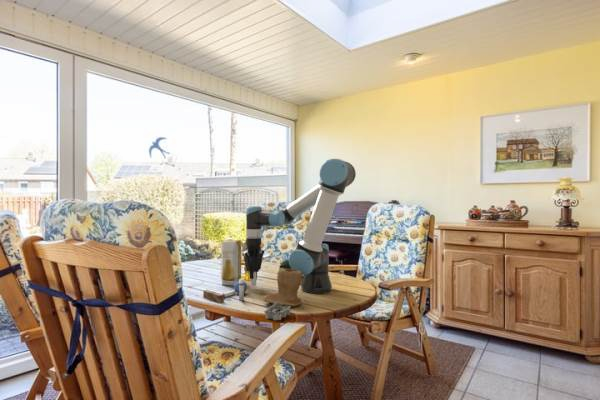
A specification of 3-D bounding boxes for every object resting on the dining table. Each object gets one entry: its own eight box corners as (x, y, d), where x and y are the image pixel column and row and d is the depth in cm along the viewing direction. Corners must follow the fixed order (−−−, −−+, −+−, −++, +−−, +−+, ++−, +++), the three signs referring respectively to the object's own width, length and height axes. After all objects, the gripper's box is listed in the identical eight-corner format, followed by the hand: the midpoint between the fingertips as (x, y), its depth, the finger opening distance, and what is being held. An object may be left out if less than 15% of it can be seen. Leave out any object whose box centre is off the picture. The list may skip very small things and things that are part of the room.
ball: (242, 291, 151) (242, 298, 155) (249, 281, 155) (249, 288, 159) (231, 285, 152) (231, 292, 156) (238, 276, 157) (238, 283, 161)
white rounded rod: (244, 300, 145) (244, 279, 145) (241, 301, 144) (241, 280, 144) (241, 299, 147) (241, 278, 147) (237, 300, 145) (238, 279, 145)
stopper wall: (223, 301, 143) (223, 294, 143) (219, 302, 141) (219, 295, 141) (207, 296, 151) (207, 289, 151) (203, 297, 149) (203, 290, 149)
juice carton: (219, 285, 171) (219, 238, 171) (226, 281, 178) (226, 236, 178) (236, 286, 169) (236, 239, 169) (242, 282, 176) (243, 237, 176)
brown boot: (306, 302, 144) (306, 267, 144) (295, 310, 133) (295, 272, 133) (275, 297, 150) (275, 264, 150) (262, 305, 139) (262, 269, 139)
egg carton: (277, 310, 133) (277, 300, 133) (293, 314, 130) (293, 303, 130) (261, 318, 124) (261, 307, 124) (277, 322, 120) (278, 310, 120)
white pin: (235, 290, 154) (221, 294, 146) (235, 294, 154) (221, 299, 146) (232, 289, 155) (218, 293, 147) (232, 294, 155) (217, 298, 147)
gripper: (258, 235, 171) (257, 281, 171) (238, 237, 161) (238, 286, 161) (268, 236, 167) (268, 283, 167) (248, 239, 157) (248, 289, 157)
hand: (253, 285), depth 164 cm, fingers closed
